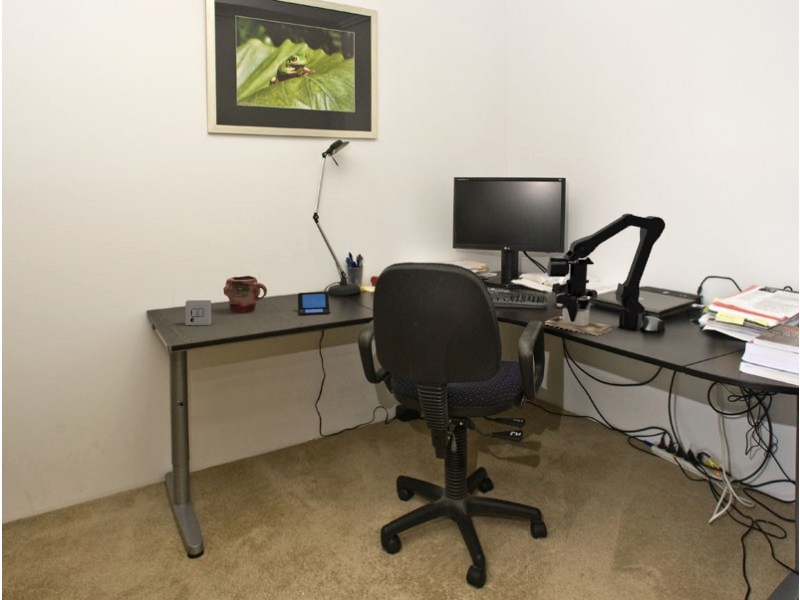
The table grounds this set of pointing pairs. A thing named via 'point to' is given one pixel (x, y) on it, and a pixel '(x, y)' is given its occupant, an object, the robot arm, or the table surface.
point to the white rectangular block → (580, 319)
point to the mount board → (589, 329)
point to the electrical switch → (198, 312)
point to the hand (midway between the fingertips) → (575, 320)
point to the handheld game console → (313, 303)
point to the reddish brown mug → (243, 293)
